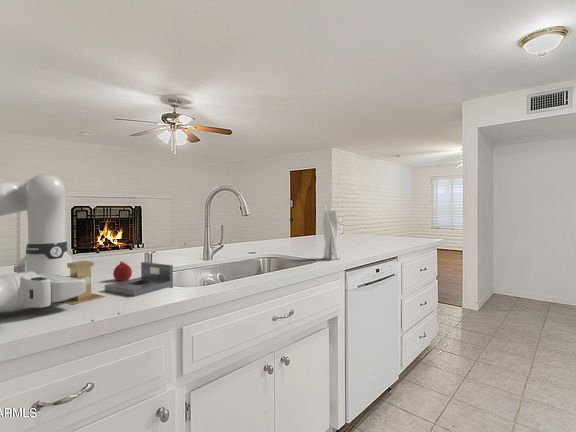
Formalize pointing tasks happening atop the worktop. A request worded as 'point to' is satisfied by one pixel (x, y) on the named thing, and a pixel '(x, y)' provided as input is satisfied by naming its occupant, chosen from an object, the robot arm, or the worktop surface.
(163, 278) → the tray
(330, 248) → the skyscraper
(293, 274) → the worktop surface
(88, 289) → the tan wooden upright block
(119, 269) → the onion
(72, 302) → the brown square coaster
